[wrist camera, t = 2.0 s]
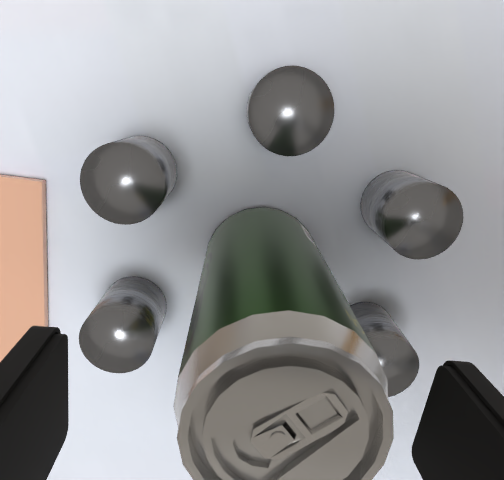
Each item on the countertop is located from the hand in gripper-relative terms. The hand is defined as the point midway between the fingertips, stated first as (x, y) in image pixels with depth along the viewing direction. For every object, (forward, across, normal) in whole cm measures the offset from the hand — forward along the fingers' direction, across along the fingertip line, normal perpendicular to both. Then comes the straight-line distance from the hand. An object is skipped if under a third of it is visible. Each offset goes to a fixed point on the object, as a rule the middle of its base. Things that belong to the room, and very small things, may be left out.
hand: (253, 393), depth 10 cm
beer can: (+11, -1, 0) cm, 11 cm away
